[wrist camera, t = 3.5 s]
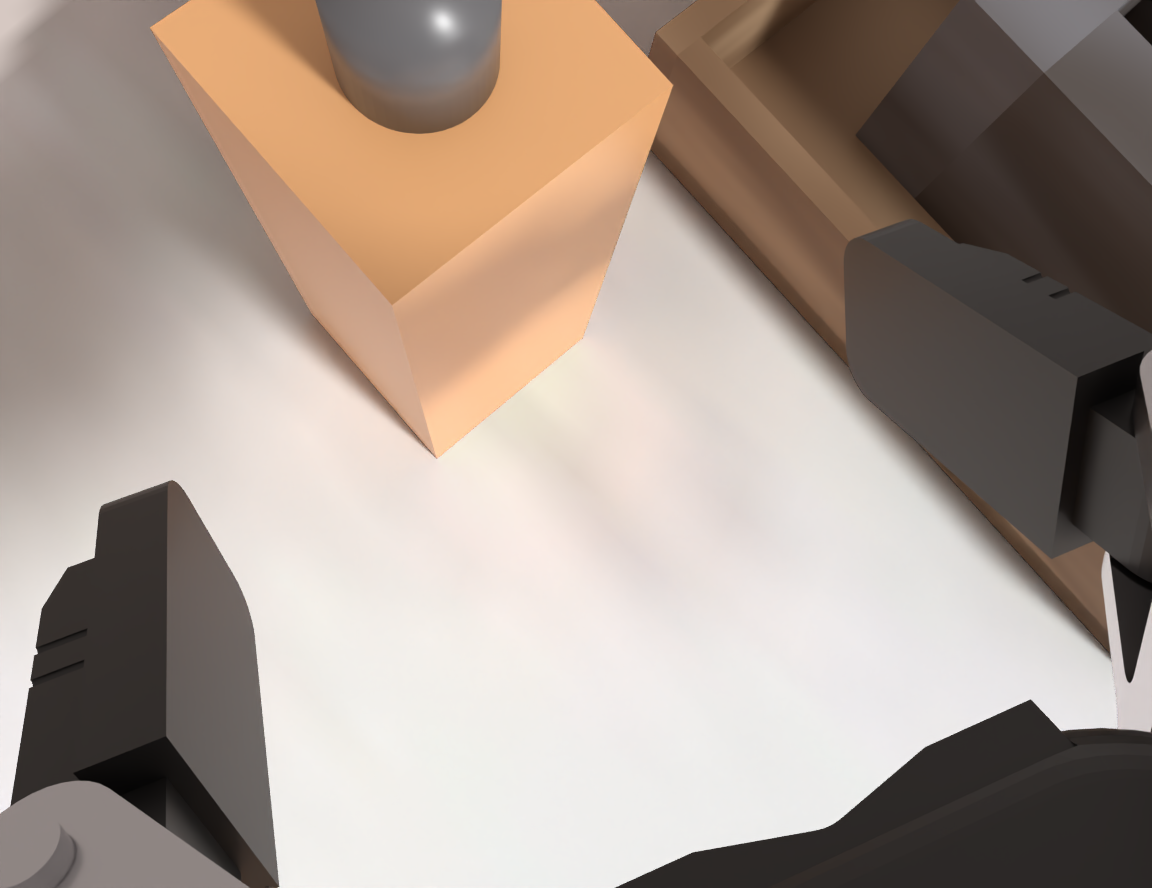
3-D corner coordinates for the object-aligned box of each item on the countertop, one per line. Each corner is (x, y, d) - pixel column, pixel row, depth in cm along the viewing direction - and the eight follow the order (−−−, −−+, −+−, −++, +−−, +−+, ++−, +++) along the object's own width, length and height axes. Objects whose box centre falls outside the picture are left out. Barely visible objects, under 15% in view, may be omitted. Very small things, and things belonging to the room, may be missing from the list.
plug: (460, 199, 21) (433, -299, 10) (582, 337, 21) (705, -6, 9) (311, 314, 20) (91, -78, 9) (437, 458, 20) (375, 248, 8)
